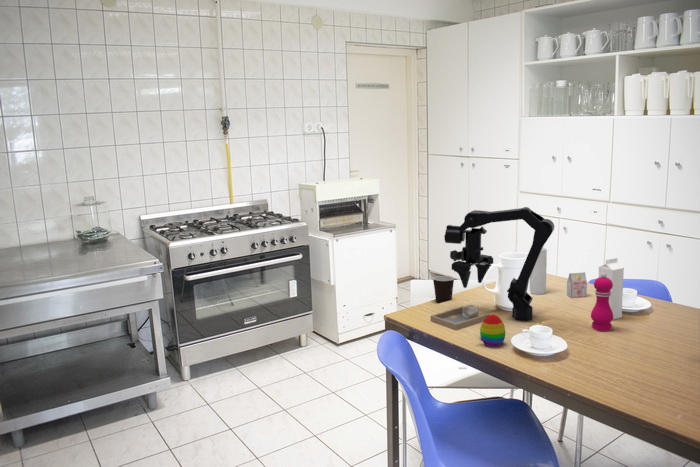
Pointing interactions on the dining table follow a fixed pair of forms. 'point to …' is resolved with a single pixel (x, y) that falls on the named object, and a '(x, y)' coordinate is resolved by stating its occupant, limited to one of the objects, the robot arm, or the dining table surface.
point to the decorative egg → (492, 331)
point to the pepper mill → (602, 304)
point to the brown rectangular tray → (456, 319)
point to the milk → (614, 285)
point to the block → (470, 311)
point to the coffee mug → (443, 288)
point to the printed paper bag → (577, 285)
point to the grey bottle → (539, 274)
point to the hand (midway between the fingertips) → (472, 285)
